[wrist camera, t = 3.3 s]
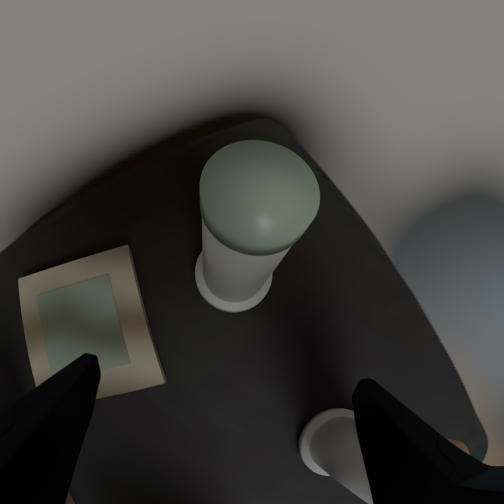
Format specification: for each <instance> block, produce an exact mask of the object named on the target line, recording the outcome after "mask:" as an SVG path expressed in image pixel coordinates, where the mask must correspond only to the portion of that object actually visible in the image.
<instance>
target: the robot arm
mask: <svg viewBox="0 0 504 504" xmlns="http://www.w3.org/2000/svg"><path fill="white" fill-rule="evenodd" d="M100 379H101V370H100V366H99V361H98V357H97V356H96V355H94V354H90V353H84V354H83V355H81V356H80V357H78V358H77V359H75V360H74V361H72V362H71V363H70V364H68V365H67V366H65V367H64V368H62V369H61V370H60V371H58V372H57V373H55V374H54V375H52V376H51V377H50V378H48V379H47V380H45V381H44V382H42V383H41V384H40V385H38V386H37V387H35V388H34V389H32V390H31V391H30V392H28V393H27V394H25V395H24V396H23V397H21V398H20V399H18V400H17V401H15V403H13V404H11V405H10V406H8V407H7V408H5V409H4V410H2V411H1V412H0V504H65V503H66V499H67V495H68V491H69V487H70V484H71V480H72V477H73V473H74V470H75V466H76V463H77V460H78V456H79V453H80V450H81V447H82V444H83V440H84V437H85V434H86V431H87V428H88V425H89V423H90V420H91V416H92V413H93V409H94V404H95V400H96V395H97V391H98V387H99V383H100ZM352 404H353V411H354V418H355V425H356V432H357V437H358V441H359V445H360V449H361V453H362V457H363V461H364V465H365V469H366V474H367V478H368V482H369V487H370V491H371V496H372V500H373V504H504V466H490V465H486V464H484V463H482V462H480V461H479V460H477V459H476V458H474V457H472V456H471V455H469V454H468V453H466V452H464V451H463V450H461V449H460V448H458V447H457V446H455V445H454V444H453V443H451V442H450V441H449V440H447V439H446V438H445V437H443V436H442V435H441V434H440V433H438V432H436V430H434V429H433V428H432V427H431V426H429V425H428V424H427V423H426V422H425V421H423V420H422V419H421V418H420V417H418V416H417V415H416V414H415V413H413V412H412V411H411V410H410V409H408V408H407V407H406V406H405V405H404V404H402V403H401V402H400V401H399V400H397V399H396V398H395V397H394V396H393V395H391V394H390V393H389V392H388V391H387V390H385V389H384V388H383V387H382V386H380V385H379V384H378V383H377V382H376V381H374V380H373V379H371V378H366V379H361V380H360V381H359V383H358V385H357V386H356V388H355V390H354V392H353V394H352Z"/></svg>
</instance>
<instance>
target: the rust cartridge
mask: <svg viewBox="0 0 504 504" xmlns="http://www.w3.org/2000/svg"><path fill="white" fill-rule="evenodd" d="M447 440H449V439H447ZM449 441H450V442H451V443H453V444H454V445H455V446H457V447H458V448H460V449H461V450H463V451H464V452H466V453H468V454H469V455H470V453H469V450H468V448H467V447H466V445H465V444H463V443H462V442H460V441H455V440H449ZM298 451H299V455H300V458H301V460H302V461H303V463H304V464H305V465H306V466H307V467H308V468H310V469H311V470H312V471H313V472H315V473H317V474H320V475H325V476H331V477H333V478H334V479H335V480H337V481H338V482H339V483H340V484H342V485H343V486H344V487H346V488H347V489H349V490H350V491H351V492H353V493H354V494H355V495H357V496H358V497H360V498H361V499H362V500H364V501H365V502H367V503H368V504H373V500H372V496H371V491H370V487H369V482H368V478H367V474H366V469H365V465H364V461H363V457H362V453H361V449H360V445H359V441H358V437H357V432H356V425H355V418H354V411H352V410H348V409H344V408H331V409H327V410H325V411H322V412H320V413H318V414H317V415H315V416H314V417H313V418H312V419H311V420H310V421H309V422H308V423H307V424H306V425H305V427H304V428H303V430H302V432H301V434H300V437H299V442H298Z"/></svg>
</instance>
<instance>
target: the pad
mask: <svg viewBox="0 0 504 504" xmlns="http://www.w3.org/2000/svg"><path fill="white" fill-rule="evenodd" d="M18 284H19V295H20V304H21V313H22V320H23V327H24V333H25V339H26V344H27V349H28V354H29V359H30V364H31V368H32V372H33V376H34V380H35V384H36V387H37V386H38V385H40V384H41V383H42V382H44V381H45V380H47V379H48V378H50V377H51V376H52V375H54V374H55V373H57V372H58V371H60V370H61V369H62V368H64V367H65V366H67V365H68V364H70V363H71V362H72V361H74V360H75V359H77V358H78V357H80V356H81V355H83V354H84V353H90V354H94V355H96V356H97V357H98V361H99V366H100V370H101V379H100V383H99V387H98V391H97V395H96V399H98V398H103V397H108V396H113V395H117V394H122V393H126V392H131V391H135V390H139V389H143V388H147V387H151V386H155V385H159V384H163V383H166V382H167V380H166V377H165V374H164V371H163V368H162V365H161V362H160V359H159V356H158V353H157V349H156V346H155V343H154V339H153V336H152V333H151V329H150V326H149V322H148V319H147V315H146V311H145V307H144V304H143V300H142V296H141V292H140V288H139V283H138V279H137V275H136V271H135V266H134V262H133V257H132V252H131V249H130V247H129V246H128V245H124V246H121V247H118V248H114V249H111V250H107V251H104V252H101V253H98V254H94V255H91V256H88V257H84V258H81V259H78V260H75V261H72V262H68V263H65V264H62V265H59V266H56V267H53V268H50V269H47V270H44V271H41V272H38V273H35V274H32V275H29V276H26V277H23V278H20V279H18Z"/></svg>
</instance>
